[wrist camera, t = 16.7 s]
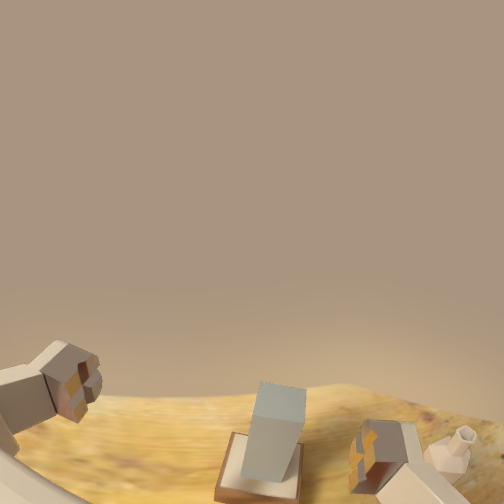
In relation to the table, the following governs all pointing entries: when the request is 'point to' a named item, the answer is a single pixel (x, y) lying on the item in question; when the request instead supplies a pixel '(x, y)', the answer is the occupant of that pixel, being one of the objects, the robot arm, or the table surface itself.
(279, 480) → the grey tall block
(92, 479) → the table surface
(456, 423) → the table surface
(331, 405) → the table surface
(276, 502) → the plinth
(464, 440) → the perfume bottle
